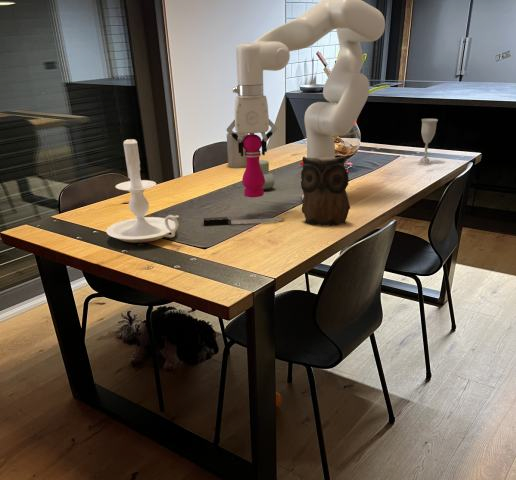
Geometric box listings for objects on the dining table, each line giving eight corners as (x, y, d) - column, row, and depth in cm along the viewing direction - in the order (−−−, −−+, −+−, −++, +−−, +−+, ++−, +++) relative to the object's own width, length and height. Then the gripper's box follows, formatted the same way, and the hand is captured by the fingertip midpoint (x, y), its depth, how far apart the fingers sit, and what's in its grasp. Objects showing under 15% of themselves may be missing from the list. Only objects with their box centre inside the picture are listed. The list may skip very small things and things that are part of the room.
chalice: (434, 165, 232) (440, 120, 223) (418, 165, 233) (423, 121, 224) (430, 161, 239) (435, 118, 230) (414, 162, 239) (419, 118, 230)
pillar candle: (236, 162, 249) (235, 128, 241) (253, 164, 244) (252, 129, 236) (223, 166, 242) (221, 131, 235) (240, 169, 237) (239, 133, 230)
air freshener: (247, 186, 210) (246, 160, 205) (267, 184, 212) (266, 158, 207) (255, 193, 201) (254, 165, 196) (276, 190, 203) (276, 163, 198)
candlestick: (157, 257, 146) (143, 149, 131) (93, 242, 157) (74, 142, 143) (203, 235, 161) (194, 136, 146) (141, 223, 172) (128, 130, 158)
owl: (350, 224, 165) (354, 156, 155) (315, 230, 161) (316, 161, 151) (329, 213, 175) (332, 149, 165) (295, 219, 171) (296, 154, 161)
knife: (282, 218, 173) (282, 212, 172) (283, 222, 169) (283, 216, 168) (204, 222, 171) (203, 217, 170) (203, 226, 168) (203, 220, 167)
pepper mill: (262, 198, 169) (261, 130, 159) (240, 197, 170) (237, 130, 160) (267, 192, 175) (265, 127, 165) (245, 191, 177) (242, 127, 167)
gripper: (221, 93, 154) (225, 158, 163) (281, 91, 155) (281, 156, 164) (221, 91, 160) (224, 153, 169) (278, 89, 161) (279, 151, 170)
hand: (252, 154), depth 167 cm, fingers closed on pepper mill, 6 cm apart
